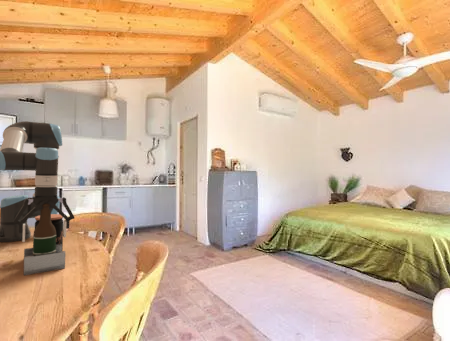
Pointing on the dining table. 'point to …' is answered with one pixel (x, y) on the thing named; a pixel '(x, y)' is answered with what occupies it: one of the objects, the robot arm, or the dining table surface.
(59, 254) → the bracket
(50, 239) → the beer bottle
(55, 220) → the coffee jar
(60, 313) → the dining table surface
